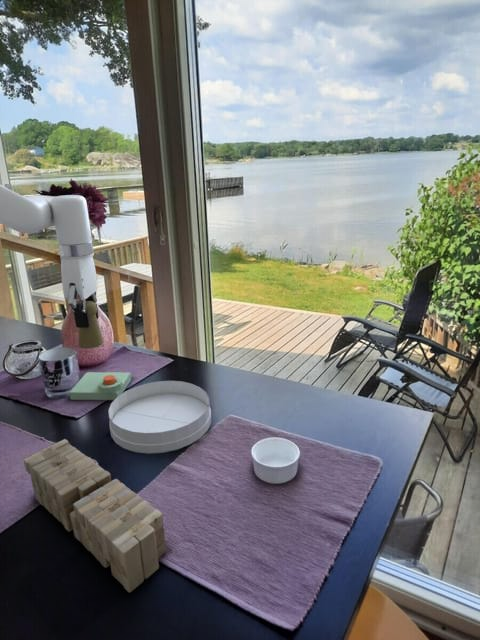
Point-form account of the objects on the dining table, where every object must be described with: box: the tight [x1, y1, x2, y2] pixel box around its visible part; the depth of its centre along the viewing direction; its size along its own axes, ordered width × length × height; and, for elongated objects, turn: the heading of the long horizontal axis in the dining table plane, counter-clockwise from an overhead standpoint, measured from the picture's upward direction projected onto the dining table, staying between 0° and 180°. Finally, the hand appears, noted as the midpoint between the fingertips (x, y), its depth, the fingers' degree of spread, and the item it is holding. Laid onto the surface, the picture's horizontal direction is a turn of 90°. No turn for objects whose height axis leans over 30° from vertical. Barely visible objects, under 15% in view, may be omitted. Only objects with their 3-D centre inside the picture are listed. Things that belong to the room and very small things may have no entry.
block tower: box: [23, 438, 167, 593], centre depth 70 cm, size 8×8×29 cm
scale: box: [69, 371, 132, 401], centre depth 112 cm, size 12×11×4 cm
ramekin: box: [250, 437, 301, 485], centre depth 81 cm, size 9×9×4 cm
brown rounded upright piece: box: [77, 301, 105, 350], centre depth 109 cm, size 6×6×11 cm
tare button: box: [103, 375, 116, 385], centre depth 109 cm, size 3×3×2 cm
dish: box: [108, 380, 212, 454], centre depth 97 cm, size 22×22×5 cm
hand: (87, 322), depth 109 cm, fingers closed on brown rounded upright piece, 5 cm apart
